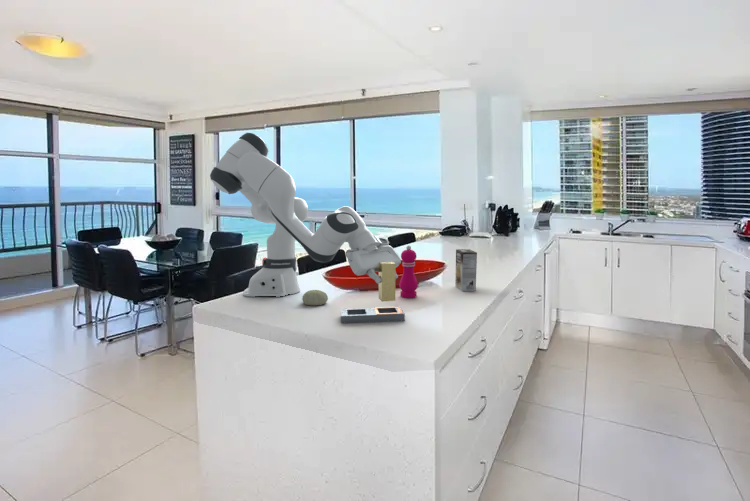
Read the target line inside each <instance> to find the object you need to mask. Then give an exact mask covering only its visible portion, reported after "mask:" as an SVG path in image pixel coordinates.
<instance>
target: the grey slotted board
mask: <svg viewBox="0 0 750 501" xmlns="http://www.w3.org/2000/svg"><path fill="white" fill-rule="evenodd" d="M405 314H406V313H405V311H403V309H402V307H401V306H380V307H379V306H378V307H377V306H376V307H375V306H374V307H369V308H368V307H365V308H364V307H363V308H341V309H340V323H341V324H367V323H369V324H370V323H392V322H393V323H394V322H395V323H396V322H406V319H405V317H406V315H405Z"/></svg>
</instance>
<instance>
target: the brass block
mask: <svg viewBox="0 0 750 501" xmlns="http://www.w3.org/2000/svg"><path fill="white" fill-rule="evenodd" d="M379 264H380V267H379V268H378V272H377V273H378V276H381V278H382V279H383V281H382V282H381V283H378V299H379V300H380V302H395V301H396V279H395V270H396V268H395V263H394V262H392V261H389V262H379Z"/></svg>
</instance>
